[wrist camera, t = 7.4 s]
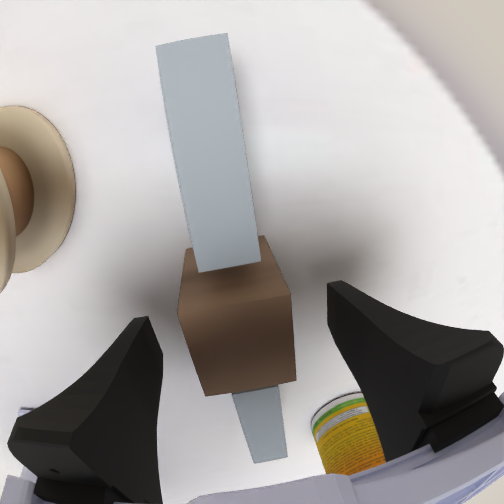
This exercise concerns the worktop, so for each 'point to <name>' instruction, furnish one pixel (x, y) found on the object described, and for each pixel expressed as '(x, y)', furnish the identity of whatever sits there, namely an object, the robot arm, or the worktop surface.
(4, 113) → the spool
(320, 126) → the worktop surface
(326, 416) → the supplement bottle
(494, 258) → the worktop surface
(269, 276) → the block
